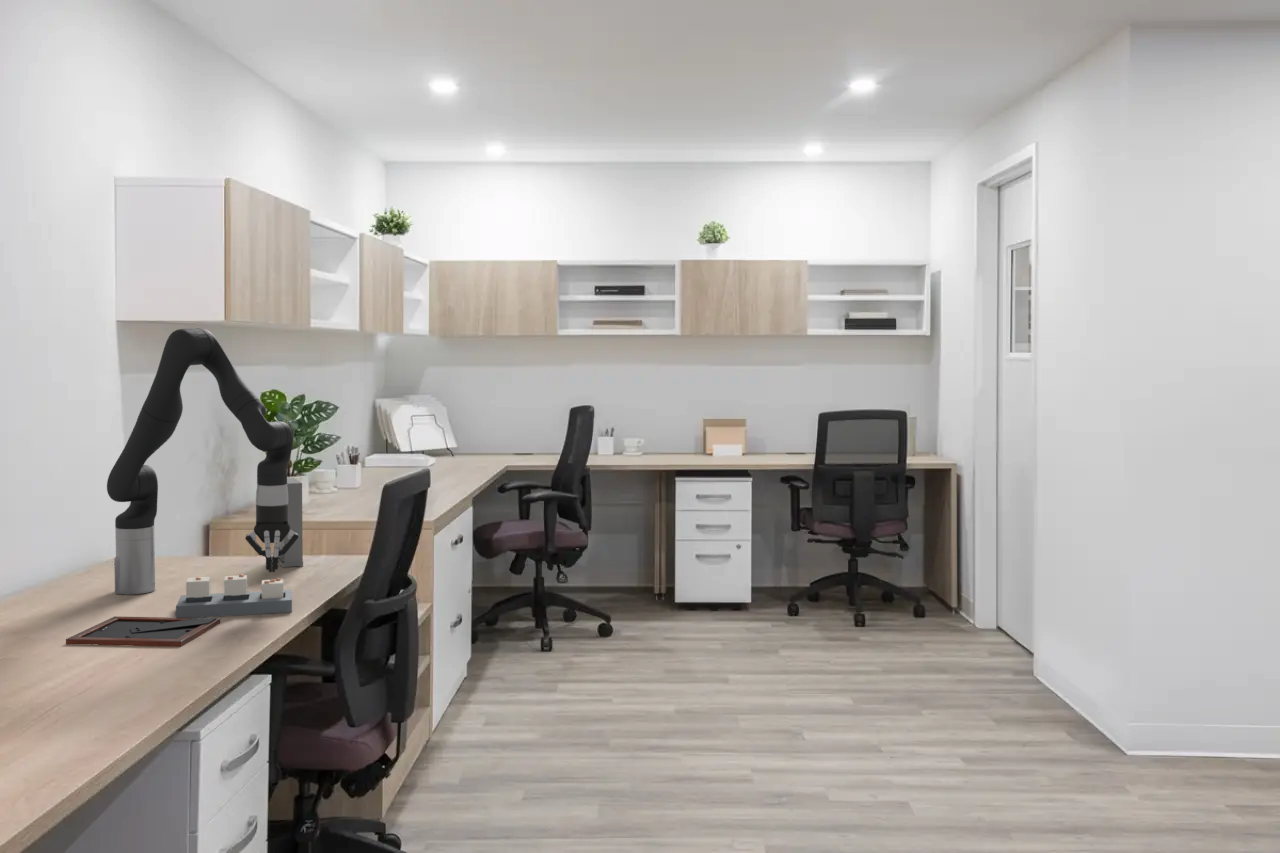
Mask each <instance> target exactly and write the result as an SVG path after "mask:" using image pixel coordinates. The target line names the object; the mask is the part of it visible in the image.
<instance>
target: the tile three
mask: <svg viewBox="0 0 1280 853" xmlns="http://www.w3.org/2000/svg"><path fill="white" fill-rule="evenodd" d="M283 590H284V578H281V577H280V578H275V579H261V591H262V599H269V598H283Z"/></svg>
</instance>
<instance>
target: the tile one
mask: <svg viewBox="0 0 1280 853" xmlns="http://www.w3.org/2000/svg"><path fill="white" fill-rule="evenodd" d="M185 582H186V583H185V590H186V593H185V595H186V598H190V597H194V598H203V597H208V596H209V595H210V594H211V576H203V577H202V576H200V577H199V576H197V577H188V578H187V579H186V581H185Z"/></svg>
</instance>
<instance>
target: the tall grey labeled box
mask: <svg viewBox="0 0 1280 853" xmlns="http://www.w3.org/2000/svg"><path fill="white" fill-rule="evenodd" d="M287 488H288V498H289V500H288V524H289V526H290V530H292V531H293V532H295V533H297V534H298V539H297V540H296V541H295V542H294V543H293V545H292V546H291V547H290V548H289V550H288V551H287V552H286V553H285V554H284V555H280V556H279V557H278V565H280V566H281V567H282V568H283V569H284V568H288V567H303V566H304V561H303V553H304V552H303V548H304V547H303V543H304V542H303V541H304V540H303V482H301V481H300V480H297V479H296V478H295V477H294V478H293V477H291V478H289V477H287ZM288 536H289V534H287V535H286V537H285V538H284V539H283V541H282V542H280V543H279V550H280V549H282V548H283V546H284V545H285V544H286V543H287V541H288V540H289V539H288Z"/></svg>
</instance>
